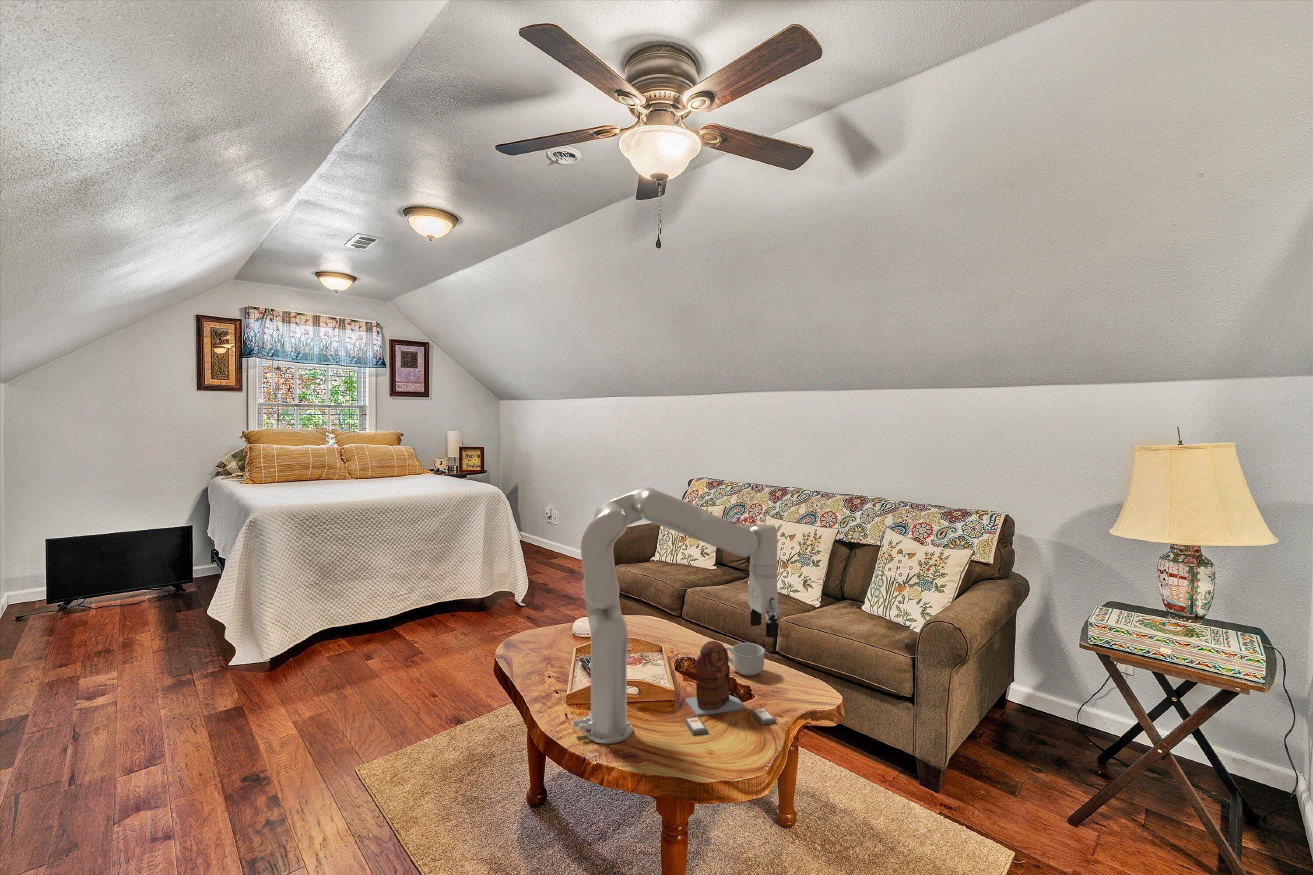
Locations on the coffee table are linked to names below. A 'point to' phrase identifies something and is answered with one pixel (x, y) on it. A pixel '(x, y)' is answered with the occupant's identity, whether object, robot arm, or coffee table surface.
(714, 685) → the wooden figurine
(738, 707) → the mat
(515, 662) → the coffee table surface
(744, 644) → the teacup
